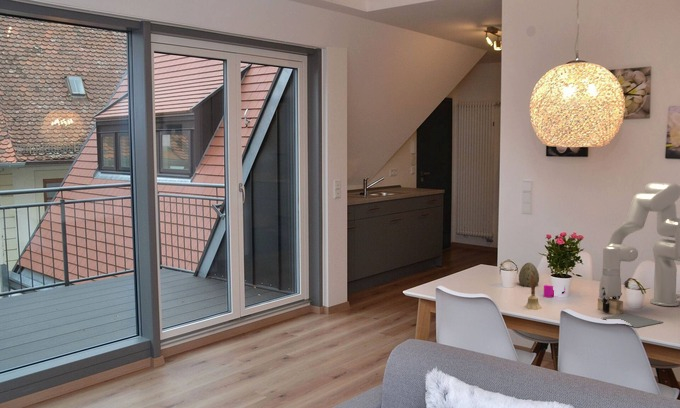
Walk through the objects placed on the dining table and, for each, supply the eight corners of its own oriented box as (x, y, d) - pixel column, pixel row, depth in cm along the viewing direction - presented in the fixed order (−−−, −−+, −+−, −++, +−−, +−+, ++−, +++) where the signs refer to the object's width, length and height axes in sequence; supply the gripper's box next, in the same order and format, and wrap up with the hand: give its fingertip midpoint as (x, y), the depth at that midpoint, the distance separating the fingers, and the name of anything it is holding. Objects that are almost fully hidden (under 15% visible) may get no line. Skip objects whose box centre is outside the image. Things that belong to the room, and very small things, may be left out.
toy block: (553, 294, 328) (554, 280, 328) (564, 296, 324) (565, 282, 323) (539, 299, 318) (539, 284, 318) (550, 301, 313) (550, 286, 313)
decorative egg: (526, 286, 348) (526, 260, 347) (542, 289, 339) (543, 263, 338) (514, 289, 341) (514, 262, 340) (531, 292, 333) (531, 265, 332)
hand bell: (525, 310, 294) (526, 277, 292) (522, 306, 302) (523, 274, 301) (543, 310, 292) (544, 277, 291) (540, 306, 301) (540, 274, 300)
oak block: (604, 309, 295) (605, 297, 294) (622, 313, 286) (623, 301, 285) (597, 310, 292) (597, 298, 292) (615, 315, 283) (616, 302, 283)
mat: (627, 313, 285) (627, 313, 285) (663, 322, 270) (663, 321, 270) (600, 318, 277) (600, 317, 277) (636, 328, 261) (636, 327, 261)
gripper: (616, 269, 295) (615, 307, 296) (591, 272, 287) (590, 311, 288) (630, 272, 288) (629, 310, 290) (605, 275, 280) (604, 314, 282)
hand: (610, 310), depth 289 cm, fingers closed on oak block, 5 cm apart
